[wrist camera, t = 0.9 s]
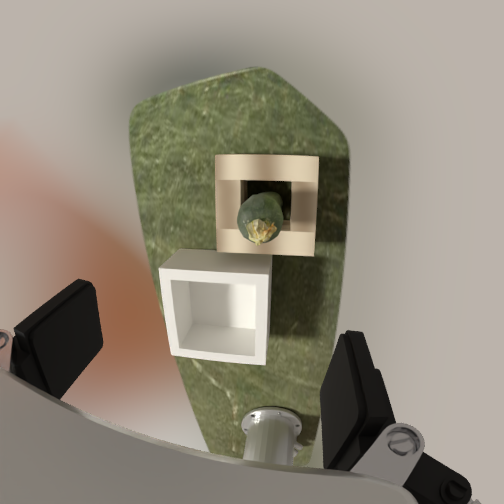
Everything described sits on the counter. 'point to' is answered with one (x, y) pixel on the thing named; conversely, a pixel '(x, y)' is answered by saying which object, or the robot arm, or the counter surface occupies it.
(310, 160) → the holder
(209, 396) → the counter surface
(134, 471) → the robot arm
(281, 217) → the vegetable
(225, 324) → the bin
